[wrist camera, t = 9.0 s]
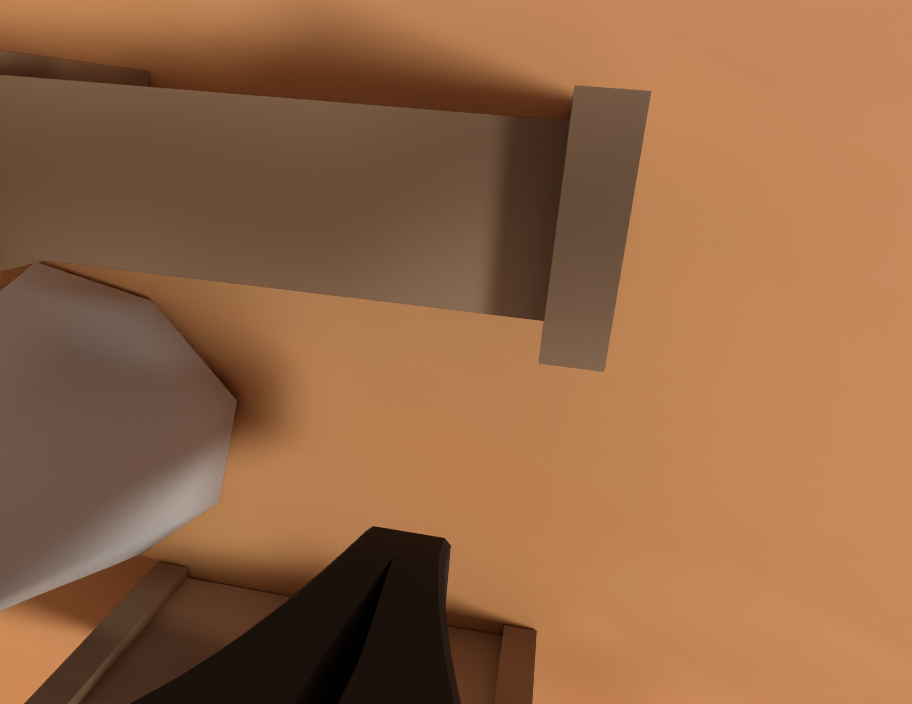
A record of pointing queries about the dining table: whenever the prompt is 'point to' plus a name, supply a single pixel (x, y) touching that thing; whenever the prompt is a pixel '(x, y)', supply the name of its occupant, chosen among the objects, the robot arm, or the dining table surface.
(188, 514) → the flask
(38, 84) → the housing
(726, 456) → the dining table surface
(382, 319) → the dining table surface
